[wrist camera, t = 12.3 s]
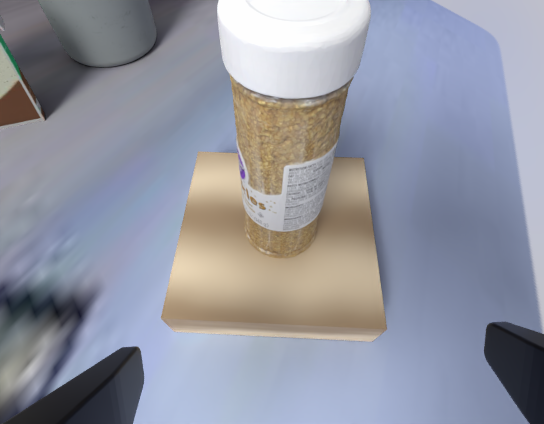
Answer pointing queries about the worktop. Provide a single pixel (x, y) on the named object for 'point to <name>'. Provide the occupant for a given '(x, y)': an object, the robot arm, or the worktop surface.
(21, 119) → the food container
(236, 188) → the oak stand
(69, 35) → the water bottle
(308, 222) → the sprinkles bottle
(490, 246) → the worktop surface
